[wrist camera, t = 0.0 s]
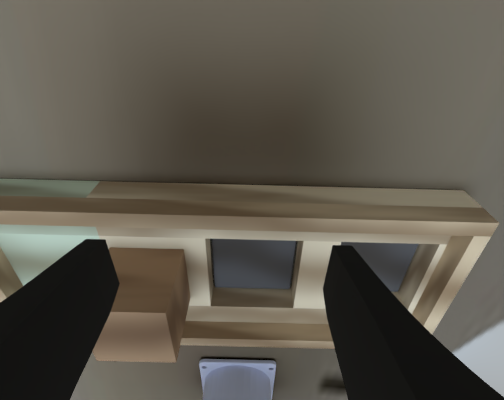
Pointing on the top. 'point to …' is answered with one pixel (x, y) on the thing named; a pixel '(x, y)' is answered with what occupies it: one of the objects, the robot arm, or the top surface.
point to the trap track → (254, 246)
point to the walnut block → (146, 306)
